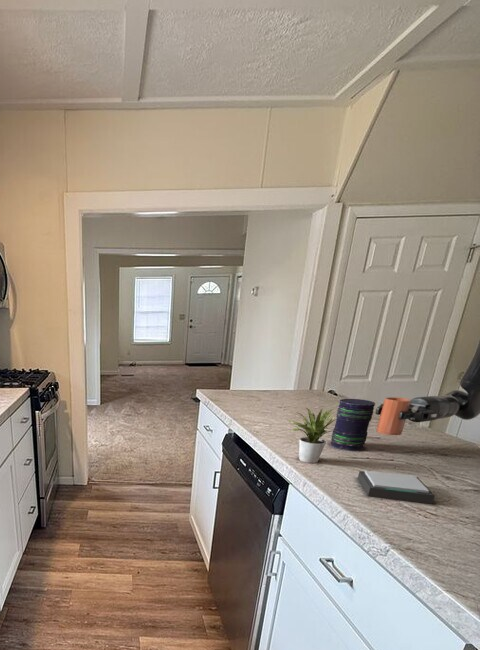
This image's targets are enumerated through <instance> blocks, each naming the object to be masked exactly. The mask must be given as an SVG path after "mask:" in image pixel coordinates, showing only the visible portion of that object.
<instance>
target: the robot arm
mask: <svg viewBox="0 0 480 650" xmlns="http://www.w3.org/2000/svg"><path fill="white" fill-rule="evenodd" d="M478 339H479V340H478V342H477V345H476V348H475V351H474V354H473V356H472V358H471V360H470V361H469V364H468V365H467V367H466V369H465V371H464V373H463V374H462V376H461V378H460V380H459V386H460V387H461V388H462V389H463V390H461V389H460V390H459V389H452V390H450V391H448V392H447V393H445V394H443V395H428V396H419V397H414V398H411V399H410V400H411V403H410V407H409V410H408V411H403V412H400V414H399V418H398V419H400V420H404V419H406V420H409V421H410V422H413V423H423V422H431V421H437V420H441V419H447V418H451V417H454V416H455V417H457V418H459V419H462V420H464V421H470V420H474V419H475V418H477V417H479V415H480V338H478ZM382 407H383V403H380V406H377V407H376V408H375V415H378V416H380V415H381V411H382Z"/></svg>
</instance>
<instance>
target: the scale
mask: <svg viewBox="0 0 480 650" xmlns="http://www.w3.org/2000/svg"><path fill="white" fill-rule="evenodd" d="M357 480H358V482H359V484H360V485H361V487H362V489H363V490H364V492H365V493H366V496H367V497H374V498H381V499H388V500H389V499H391V500H398V501H406V502H412V503H413V502H414V503H420V504H421V503H422V504H430V505H433V503H434V500H435V497H436V494H435V493H433V491H432V490H431V489H430V488H428V486H427V485H426V484H425V483H424V482H423V481H422V480H421V479H420V478H419V477H418V476H416V475H411V474H402V473H392V472H381V471H372V470H359V471H358V475H357Z"/></svg>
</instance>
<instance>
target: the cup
mask: <svg viewBox="0 0 480 650" xmlns="http://www.w3.org/2000/svg"><path fill="white" fill-rule="evenodd" d="M411 400H412V399H409V398H406V397H405V398H404V397H396V396H394V397H393V396H388V397H385V398H384V401H383V403H382V404H383V407H382V411H381V415H379V419H378V422H377V426H376V432H377V433H379V434H382V435H386V436H387V435H388V436H401V435H402V434H403V431H404V428H405V425H406V420H407V419H404V420H400V419H398V418H399V414H400V412H403V411H408V410H409V407H410V403H411Z"/></svg>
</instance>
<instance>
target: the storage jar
mask: <svg viewBox="0 0 480 650" xmlns="http://www.w3.org/2000/svg"><path fill="white" fill-rule="evenodd" d="M375 405H376V402H375V401H372V400H366V399H360V398H343V399H339V404H338V407H337V410H336V411H337V412H336V414H335V418H336V419H337V420H336V419H335V425H334V428H332V429H333V430H332V433H331V438H330V439H331V441H330V442H329V445H330V447H333V448H335V449H339V450H342V451H351V452H358V451H363V450H364V448H365V446H364V445H365V444H366V442H367V437H368V430H369V425H370V422H371V421H372V417H373V415H374V409H375ZM336 431H338V432H336Z"/></svg>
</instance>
